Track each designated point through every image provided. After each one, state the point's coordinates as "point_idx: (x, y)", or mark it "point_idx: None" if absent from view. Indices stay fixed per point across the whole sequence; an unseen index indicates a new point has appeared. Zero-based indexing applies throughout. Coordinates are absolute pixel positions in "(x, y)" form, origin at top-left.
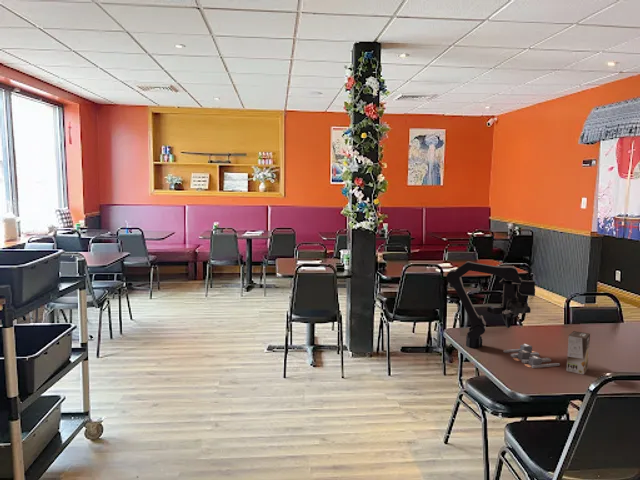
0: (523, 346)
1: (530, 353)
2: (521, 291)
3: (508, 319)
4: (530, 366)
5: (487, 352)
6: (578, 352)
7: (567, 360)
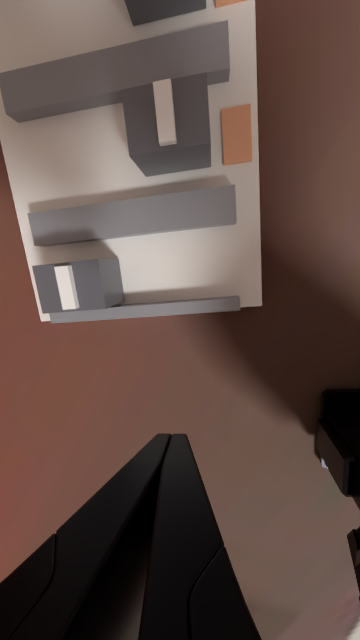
0: (100, 270)
1: (123, 95)
2: None
3: (181, 620)
4: None
5: (314, 356)
6: None
7: None
